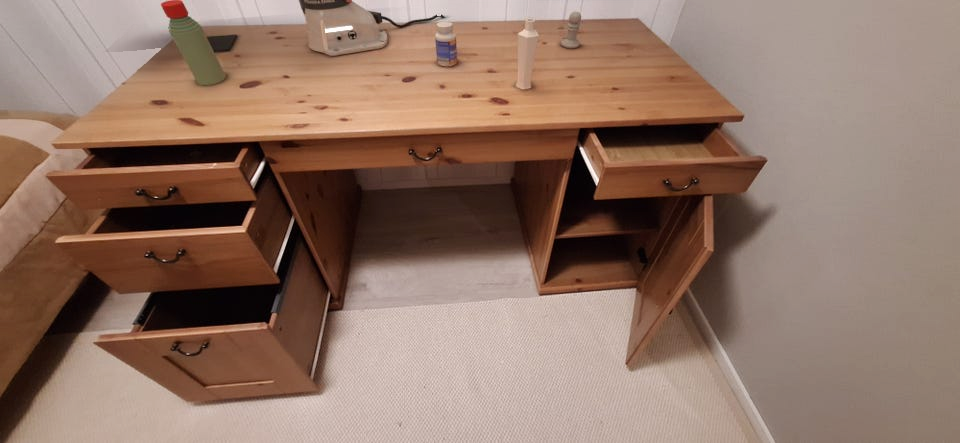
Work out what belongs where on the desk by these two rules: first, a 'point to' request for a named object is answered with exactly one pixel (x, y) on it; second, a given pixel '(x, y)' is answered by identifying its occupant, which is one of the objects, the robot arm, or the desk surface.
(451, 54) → the pill bottle
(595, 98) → the desk surface
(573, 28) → the chess piece
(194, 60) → the bottle
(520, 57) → the perfume bottle
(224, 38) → the coaster
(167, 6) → the cap
